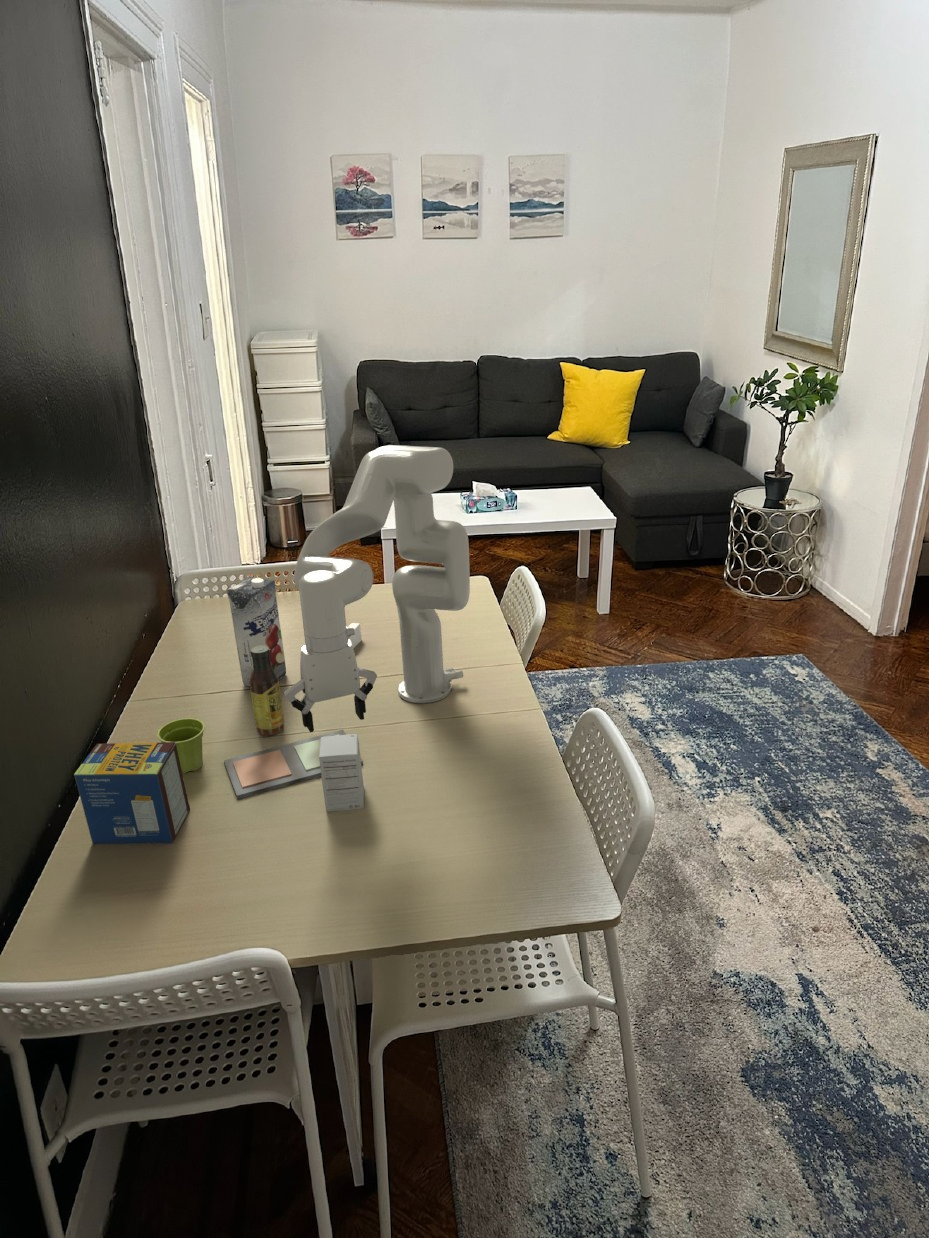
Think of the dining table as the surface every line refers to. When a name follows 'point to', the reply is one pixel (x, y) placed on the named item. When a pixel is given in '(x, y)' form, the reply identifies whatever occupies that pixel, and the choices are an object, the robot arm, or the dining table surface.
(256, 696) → the sauce bottle
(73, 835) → the dining table surface
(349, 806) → the supplement box
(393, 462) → the robot arm
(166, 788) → the protein box
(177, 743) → the plant pot
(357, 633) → the napkin holder
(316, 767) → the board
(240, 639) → the juice carton
